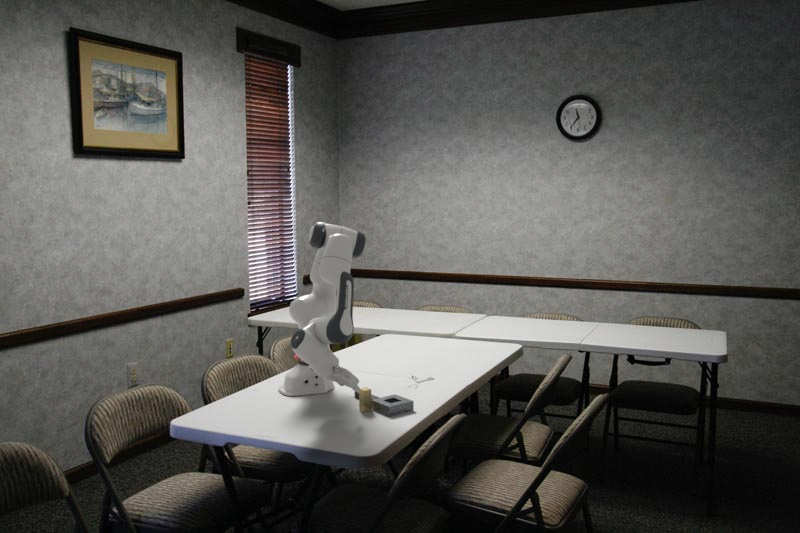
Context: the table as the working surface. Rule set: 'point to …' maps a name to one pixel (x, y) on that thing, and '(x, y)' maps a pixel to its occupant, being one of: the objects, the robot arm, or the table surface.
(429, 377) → the scissors
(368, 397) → the bar
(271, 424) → the table surface
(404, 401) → the grey handled square frame
